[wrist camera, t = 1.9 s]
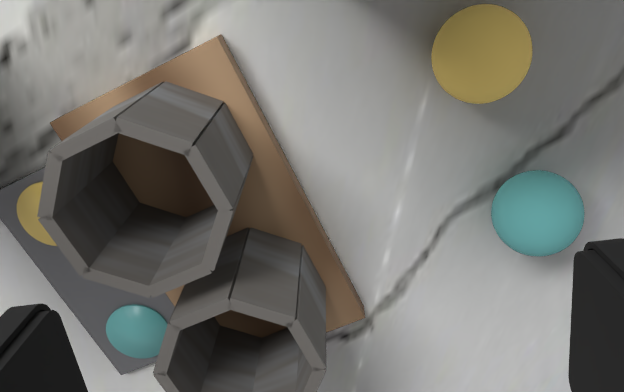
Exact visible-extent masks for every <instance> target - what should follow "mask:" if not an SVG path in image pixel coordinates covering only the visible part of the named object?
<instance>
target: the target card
mask: <svg viewBox="0 0 624 392" xmlns="http://www.w3.org/2000/svg"><path fill="white" fill-rule="evenodd" d="M44 172H45V167H44V168H42V169H40V170H38V171H36V172H34V173H32V174H30V175H28V176H26V177H24V178H22V179H20V180H18V181H16V182H14V183H12V184H10V185H8V186H6V187H4V188H2V189H0V219H1V220H2V221H3V223H4V224H5V225H6V226H7V228H8V229H9V230H10V232H11V233H12V234H13V236H14V237H15V238H16V239H17V241H18V242H19V243H20V245H21V246H22V247H23V248H24V250H25V251H26V252H27V254H28V255H29V256H30V258H31V259H32V260H33V261H34V263H35V264H36V265H37V267H38V268H39V269H40V271H41V272H42V273H43V274H44V276H45V277H46V278H47V280H48V281H49V282H50V284H51V285H52V286H53V287H54V289H55V290H56V291H57V293H58V294H59V295H60V297H61V298H62V299H63V300H64V302H65V303H66V304H67V306H68V307H69V308H70V310H71V311H72V312H73V313H74V315H75V316H76V317H77V319H78V320H79V321H80V322H81V324H82V325H83V326H84V328H85V329H86V330H87V332H88V333H89V334H90V335H91V337H92V338H93V339H94V341H95V342H96V343H97V345H98V346H99V347H100V348H101V350H102V351H103V352H104V354H105V355H106V356H107V358H108V359H109V360H110V361H111V363H112V364H113V365H114V367H115V368H116V369H117V371H118V372H119V373H120V374H121V375H123V374H125V373H128V372H130V371H133V370H135V369H138V368H140V367H143V366H146V365H148V364H151V363H153V362H156V361H157V358H158V355H159V351H160V348H161V345H162V341H163V338H164V335H165V331H166V328H167V324H168V322H169V320H170V317H171V315H172V313H173V310H174V308H175V306H174V305H173V303H172V302H171V300H170V299H169V297H168V296H167V294H166V293H163V294H161V295H159V296H156V297H154V298H153V297H152V296H151V297H150V298H148V297H145V296H141V295H138V294H135V293H131V292H128V291H125V290H121V289H118V288H115V287H111V286H108V285H104V284H101V283H98V282H94V281H91V280H88V279H84V278H83V275H81V276H79V274H78V273H77V272H76V270H75V269H74V268H73V266H72V265H71V263H70V262H69V261H68V259H67V258H66V257H65V255H64V254H63V253H62V251H61V250H60V249H59V247H58V246H57V245H56V243H55V242H54V241H53V239H52V238H51V237H50V235H49V234H48V232H47V231H46V230H45V228H44V227H43V226H42V224H41V223H40V222H39V220H38V219H39V218H40V217H37V214H38V208H39V202H40V196H41V190H42V184H43V178H44Z"/></svg>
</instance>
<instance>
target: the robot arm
mask: <svg viewBox="0 0 624 392" xmlns="http://www.w3.org/2000/svg"><path fill="white" fill-rule="evenodd" d="M569 383H570V387H571V391H572V392H624V239H612V240H603V241H594V242H588V243H587V244H586V245H585V247H584V251H580V252H577V253H576V254H575V257H574V269H573V291H572V312H571V334H570V355H569ZM0 392H88V390H87V388H86V385H85V382H84V380H83V377H82V374H81V371H80V369H79V366H78V363H77V361H76V358H75V355H74V352H73V350H72V347H71V344H70V342H69V339H68V336H67V334H66V331H65V328H64V325H63V323H62V320H61V317H60V315H59V314H58V313H57V312H56V311H54V310H50V308H49V307H48V306H47V305H45V304H34V305H25V306H16V307H11V308H9V309H8V310H7V311H6V312H5V313H4V314H3V315H2V316H1V317H0Z"/></svg>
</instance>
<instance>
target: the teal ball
mask: <svg viewBox="0 0 624 392" xmlns="http://www.w3.org/2000/svg"><path fill="white" fill-rule="evenodd" d="M491 216H492V222H493V226H494V228H495V230H496V232H497V234H498V236H499V237H500V238H501V240H502V241H503V242H504V243H505V244H506V245H508V246H509V247H510V248H512V249H513V250H515V251H517V252H519V253H522V254H525V255H530V256H547V255H552V254H555V253H557V252H560V251H562V250H563V249H565V248H566V247H568V246H569V245H570V244H571V243H572V242H573V241H574V240H575V239H576V238H577V236H578V235H579V233H580V231H581V229H582V226H583V222H584V206H583V202H582V199H581V197H580V195H579V193H578V191H577V190H576V189H575V187H574V186H573V185H572V184H571V183H570V182H569V181H567V180H566V179H565V178H563V177H561V176H559V175H557V174H555V173H552V172H548V171H541V170H533V171H527V172H523V173H520V174H517V175H515V176H513V177H512V178H510V179H509V180H507V181H506V182H505V183H504V184H503V185H502V186H501V187H500V189H499V190H498V192H497V193H496V195H495V197H494V200H493V203H492V210H491Z"/></svg>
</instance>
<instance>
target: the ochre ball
mask: <svg viewBox="0 0 624 392" xmlns="http://www.w3.org/2000/svg"><path fill="white" fill-rule="evenodd" d="M431 60H432V68H433V72H434V75H435V77H436V79H437V81H438V82H439V84H440V85H441V87H442V88H443V89H444V90H445V91H446V92H447V93H448V94H450V95H451V96H453V97H454V98H456V99H458V100H461V101H464V102H467V103H474V104H483V103H489V102H493V101H496V100H499V99H501V98H503V97H505V96H506V95H508V94H509V93H511V92H512V91H513V90H514V89H516V88H517V87H518V85H519V84H520V83H521V82H522V80H523V79H524V78H525V76H526V74H527V72H528V70H529V67H530V64H531V60H532V41H531V36H530V34H529V31H528V29H527V27H526V26H525V24H524V23H523V21H522V20H521V19H520V18H519V17H518V16H517V15H516V14H515V13H513V12H512V11H510V10H508V9H506V8H504V7H501V6H498V5H493V4H479V5H473V6H470V7H467V8H464V9H462V10H460V11H459V12H457V13H456V14H454V15H453V16H451V17H450V18H449V19H448V20H447V21H446V22H445V23H444V24H443V26H442V27H441V29H440V30H439V32H438V34H437V36H436V38H435V40H434V43H433V48H432V55H431Z"/></svg>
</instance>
